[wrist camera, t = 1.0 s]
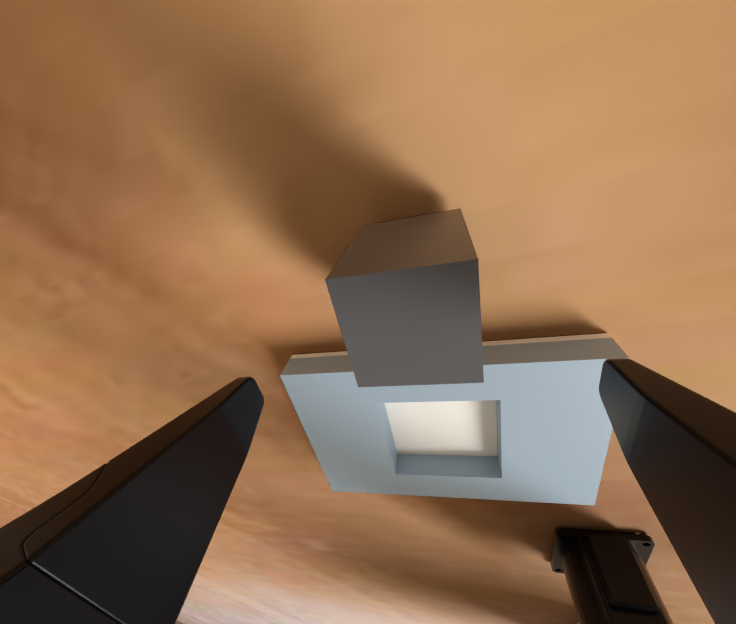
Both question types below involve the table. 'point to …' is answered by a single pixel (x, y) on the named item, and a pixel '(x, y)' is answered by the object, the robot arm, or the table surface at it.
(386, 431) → the socket
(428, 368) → the plug
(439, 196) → the table surface
